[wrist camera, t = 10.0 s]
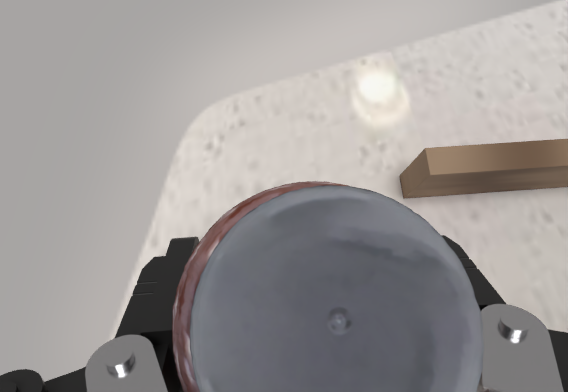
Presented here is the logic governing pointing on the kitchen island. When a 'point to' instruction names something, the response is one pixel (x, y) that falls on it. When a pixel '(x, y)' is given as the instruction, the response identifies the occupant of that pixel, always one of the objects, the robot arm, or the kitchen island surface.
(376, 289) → the supplement bottle
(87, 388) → the robot arm
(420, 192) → the walnut channel
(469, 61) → the kitchen island surface
